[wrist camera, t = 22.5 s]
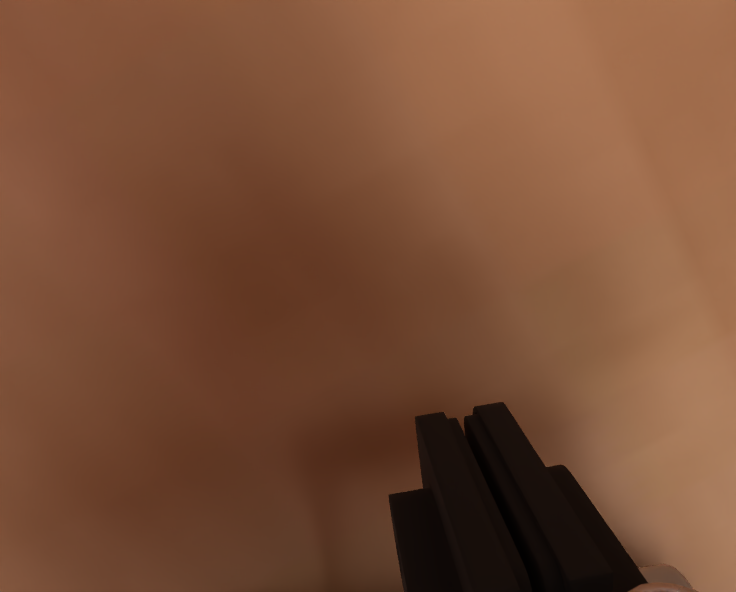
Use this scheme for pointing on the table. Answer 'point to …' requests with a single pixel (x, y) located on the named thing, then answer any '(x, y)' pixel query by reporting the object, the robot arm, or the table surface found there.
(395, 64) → the table surface
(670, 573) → the drawer
